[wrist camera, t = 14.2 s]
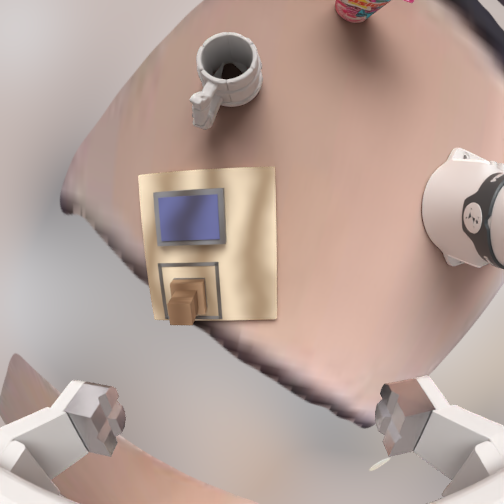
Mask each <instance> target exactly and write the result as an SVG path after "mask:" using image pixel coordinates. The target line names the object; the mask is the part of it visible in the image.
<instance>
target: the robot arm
mask: <svg viewBox="0 0 504 504" xmlns="http://www.w3.org/2000/svg"><path fill="white" fill-rule="evenodd" d="M463 156H464V158H463ZM422 216H423V222H424V226H425V229H426V232H427V234H428V236H429V238H430V239H431V241H432V242H433V243H434V244H435V245H436V246H437V247H438V248H439V249H440V250H441V251H442V252H443V255H444V258H445V260H446V262H447V264H448V265H451V266H457V265H460V264H463V263H467V264H470V265H472V266H475V267H477V268H481V267H482V266H484V265H487V264H489V263H490V264H491V265H493V266H495V267H498V268H502V269H504V164H501V163H498V164H497V162H494V161H490V162H489V161H487V160H485V159H483V158H481V157H479V156H477V155H475V154H473V153H471V152H468V151H466V150H464V149H462V148H454V149H453V150H452V152H451V153H450V155H449V157H448V160H447V161H446V162H445V163H444V164H443V165H441V166H440V167H439V168H438V169H437V170H436V171H435V172H434V173H433V174H432V176H431V177H430V179H429V181H428V183H427V185H426V188H425V191H424V195H423V201H422ZM380 395H381V397H382V400H381V401H380V402H379V403H378V404H377V407H376V411H375V421H376V426H377V428H378V431H379V432H380V433H382V434H384V435H385V437H384V439H383V443H384V446H385V448H386V451H387V453H388V456H394V455H399V454H403V453H407V452H411V451H414V453H415V454H417V455H418V456H419V457H420V458H422V459H423V460H425V461H426V462H427V463H429V464H430V465H431V466H433V467H434V468H436V469H437V470H438V471H440V472H441V473H442V474H444V475H445V476H447V477H448V478H450V479H451V480H452V481H451V482H450V483H449V485H448V486H447V487H446V489H445V490H444V491H443V493H442V496H443V498H440V499H438V500H435V501H432V502H430V503H427V504H504V426H503V425H501V424H499V423H496V422H494V421H491V420H489V419H487V418H484V417H482V416H480V415H477V414H475V413H473V412H470V411H468V410H466V409H464V408H461V407H459V406H457V405H450V404H449V403H448V401H447V400H446V398H445V397H444V395H443V394H442V393H441V391H440V390H439V389H438V387H437V386H436V384H435V383H434V382H433V380H432V379H431V378H430V377H429V376H428V375H424V376H420V377H416V378H413V379H407V380H402V381H397V382H392V383H386V384H384V385H383V387H382V389H381V392H380ZM118 397H119V395H118V393H117V390H116V388H114V387H112V386H107V385H101V384H96V383H91V382H84V381H80V380H73V381H71V382H70V383H69V385H68V386H67V387H66V389H65V390H64V391H63V392H62V394H61V395H60V396H59V397H58V399H57V400H56V401H55V403H54V404H53V405H52V407H51V408H48V407H46V408H44V409H42V410H39V411H37V412H35V413H33V414H30V415H28V416H26V417H24V418H21V419H19V420H17V421H14V422H12V423H10V424H7V425H5V426H3V427H0V504H80V503H78V502H75V501H72V500H70V499H67V498H65V497H62V496H60V495H59V494H60V491H59V489H58V488H57V486H56V485H55V484H54V483H53V482H52V481H51V479H53V478H54V477H56V476H57V475H59V474H60V473H61V472H63V471H64V470H66V469H67V468H68V467H70V466H71V465H73V464H74V463H75V462H77V461H78V460H80V459H81V458H82V457H84V456H85V455H86V454H88V452H92V453H96V454H101V455H105V456H110V457H111V456H112V453H113V451H114V449H115V447H116V445H117V443H118V442H117V439H116V436H118V435H119V434H121V433H122V431H123V429H124V427H125V420H126V417H125V411H124V408H123V406H122V405H121V404H120V403H119V402H118V401H117V399H118Z"/></svg>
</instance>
